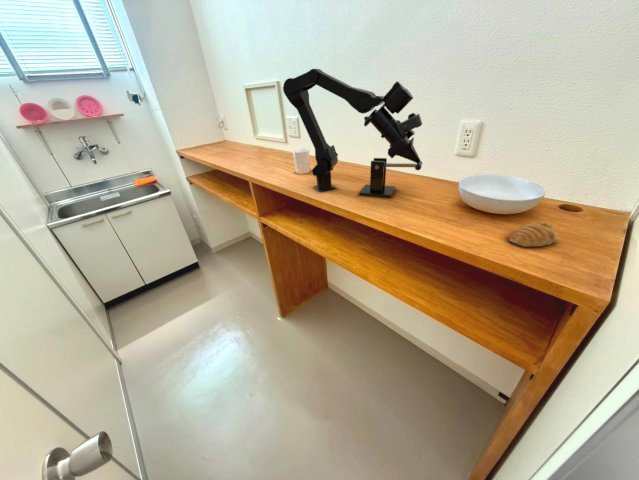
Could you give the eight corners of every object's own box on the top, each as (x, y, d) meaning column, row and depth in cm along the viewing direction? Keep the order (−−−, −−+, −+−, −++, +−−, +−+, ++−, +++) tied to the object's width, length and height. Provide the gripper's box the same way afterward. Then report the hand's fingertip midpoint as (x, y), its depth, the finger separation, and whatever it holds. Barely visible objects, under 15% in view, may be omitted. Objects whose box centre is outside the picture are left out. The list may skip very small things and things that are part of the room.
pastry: (527, 252, 55) (533, 237, 54) (499, 238, 61) (504, 224, 59) (557, 243, 58) (565, 228, 56) (528, 230, 63) (533, 216, 61)
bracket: (394, 189, 94) (397, 157, 88) (390, 198, 87) (393, 163, 81) (365, 187, 98) (366, 156, 92) (359, 195, 91) (359, 162, 85)
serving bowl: (451, 216, 72) (456, 193, 69) (456, 191, 88) (460, 171, 84) (543, 228, 63) (554, 203, 60) (530, 198, 79) (538, 176, 75)
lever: (421, 167, 84) (422, 159, 83) (420, 171, 80) (421, 163, 79) (376, 166, 90) (376, 159, 89) (372, 170, 86) (373, 163, 85)
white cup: (297, 169, 126) (294, 149, 121) (312, 169, 125) (310, 148, 119) (293, 174, 119) (290, 152, 114) (309, 174, 118) (307, 152, 113)
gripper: (403, 107, 68) (440, 150, 69) (411, 101, 82) (442, 137, 83) (372, 138, 75) (407, 177, 76) (385, 128, 89) (414, 161, 91)
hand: (419, 162), depth 81 cm, fingers closed, pressing on lever
